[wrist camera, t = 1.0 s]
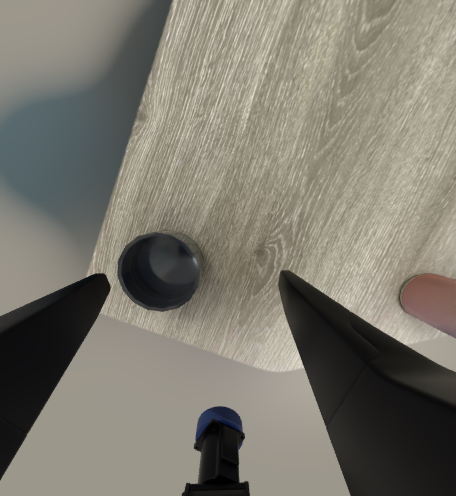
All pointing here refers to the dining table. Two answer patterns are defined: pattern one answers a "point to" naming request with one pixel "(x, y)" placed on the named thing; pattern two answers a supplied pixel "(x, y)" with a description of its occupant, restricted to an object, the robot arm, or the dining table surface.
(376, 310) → the dining table surface
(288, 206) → the dining table surface
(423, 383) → the robot arm
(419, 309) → the beverage can
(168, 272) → the pot
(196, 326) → the dining table surface
